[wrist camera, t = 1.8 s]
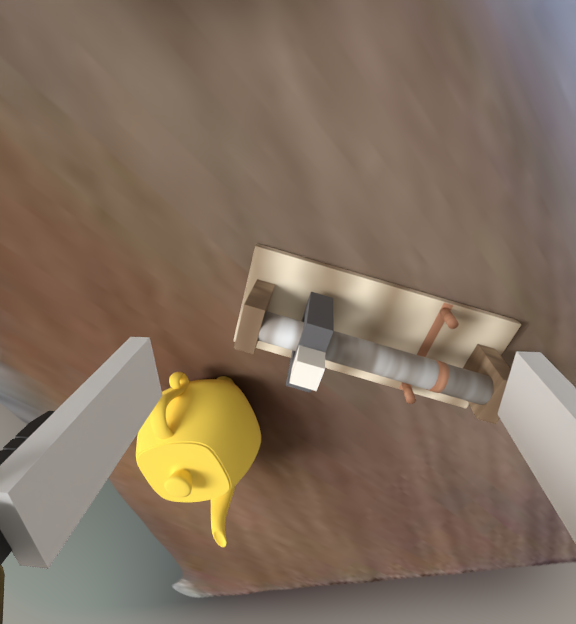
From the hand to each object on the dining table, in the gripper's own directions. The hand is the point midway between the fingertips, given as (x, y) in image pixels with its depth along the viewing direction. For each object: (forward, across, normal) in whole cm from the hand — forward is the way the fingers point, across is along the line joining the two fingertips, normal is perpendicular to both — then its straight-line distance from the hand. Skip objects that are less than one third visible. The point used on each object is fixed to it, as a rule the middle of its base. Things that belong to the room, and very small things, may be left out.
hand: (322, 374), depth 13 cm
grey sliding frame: (+23, -1, -10) cm, 25 cm away
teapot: (+26, -14, -26) cm, 39 cm away
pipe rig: (+26, +5, -12) cm, 28 cm away
